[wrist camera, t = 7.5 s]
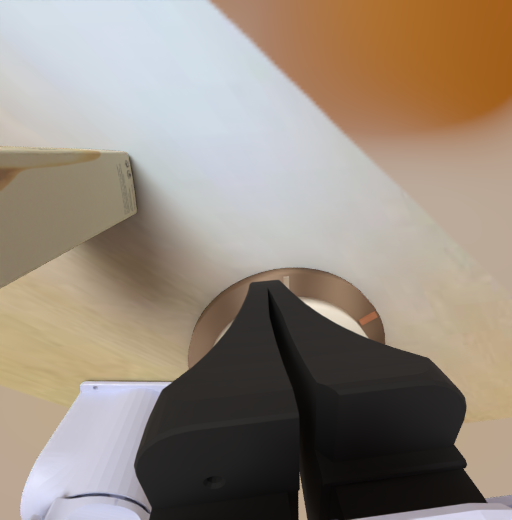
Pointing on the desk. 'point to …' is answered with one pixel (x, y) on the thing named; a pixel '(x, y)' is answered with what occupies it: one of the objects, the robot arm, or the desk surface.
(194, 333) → the dial base
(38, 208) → the skincare box
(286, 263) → the desk surface
